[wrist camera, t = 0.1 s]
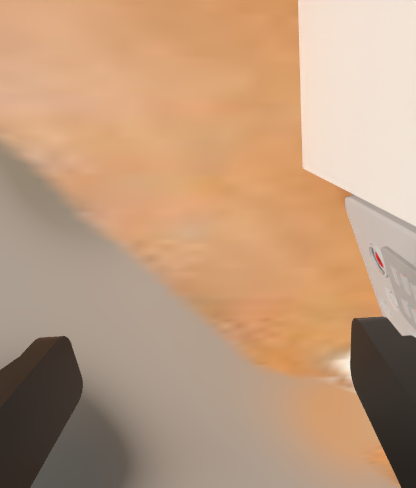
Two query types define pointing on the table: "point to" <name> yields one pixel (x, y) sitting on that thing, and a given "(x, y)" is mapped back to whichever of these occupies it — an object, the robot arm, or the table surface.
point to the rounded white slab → (387, 260)
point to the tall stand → (361, 98)
